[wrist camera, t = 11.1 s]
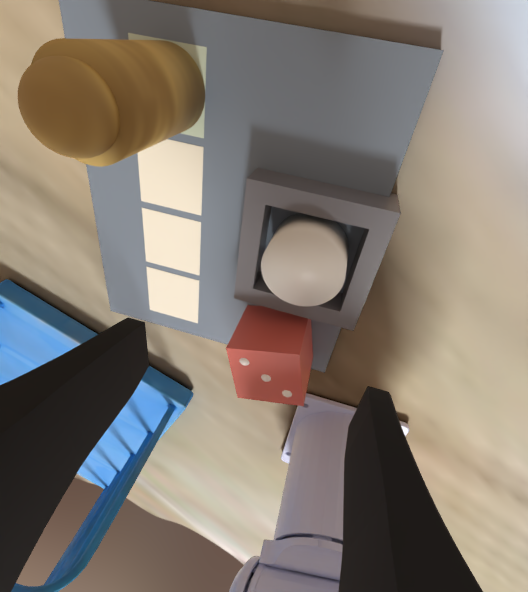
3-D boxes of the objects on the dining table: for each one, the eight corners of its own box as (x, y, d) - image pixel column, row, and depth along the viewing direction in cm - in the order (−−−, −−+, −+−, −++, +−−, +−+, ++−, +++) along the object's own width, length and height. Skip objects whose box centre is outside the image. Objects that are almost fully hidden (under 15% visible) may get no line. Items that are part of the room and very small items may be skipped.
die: (313, 357, 23) (303, 408, 20) (255, 352, 24) (236, 399, 21) (310, 308, 21) (299, 356, 17) (247, 305, 22) (225, 350, 19)
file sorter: (9, 274, 27) (-285, 454, 15) (197, 387, 29) (75, 624, 17) (-5, 410, 42) (-157, 555, 30) (121, 478, 44) (26, 640, 32)
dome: (336, 288, 19) (332, 315, 17) (267, 271, 20) (256, 294, 18) (358, 222, 17) (357, 244, 15) (278, 204, 17) (267, 222, 15)
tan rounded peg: (203, 139, 17) (106, 194, 11) (134, 123, 17) (2, 167, 11) (207, 48, 14) (86, 52, 8) (128, 32, 15) (-42, 24, 9)
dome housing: (355, 305, 21) (353, 330, 19) (246, 276, 21) (233, 298, 19) (397, 194, 16) (400, 213, 15) (260, 164, 17) (246, 178, 15)
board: (325, 366, 24) (324, 372, 23) (115, 305, 26) (110, 310, 25) (440, 50, 13) (443, 50, 13) (66, -14, 15) (55, -16, 15)
